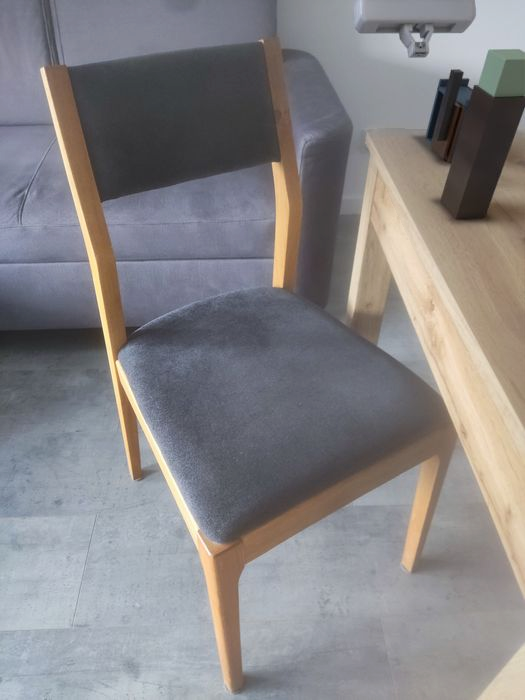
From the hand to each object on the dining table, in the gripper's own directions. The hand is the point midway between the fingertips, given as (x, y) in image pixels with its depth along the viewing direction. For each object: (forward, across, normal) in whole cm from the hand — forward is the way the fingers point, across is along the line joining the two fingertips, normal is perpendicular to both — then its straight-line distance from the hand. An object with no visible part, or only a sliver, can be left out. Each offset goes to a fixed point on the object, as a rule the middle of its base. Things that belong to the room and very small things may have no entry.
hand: (418, 55), depth 87 cm
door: (+16, 0, -1) cm, 16 cm away
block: (+18, -3, -24) cm, 30 cm away
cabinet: (+16, +5, +2) cm, 16 cm away
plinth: (+29, -3, -12) cm, 32 cm away
